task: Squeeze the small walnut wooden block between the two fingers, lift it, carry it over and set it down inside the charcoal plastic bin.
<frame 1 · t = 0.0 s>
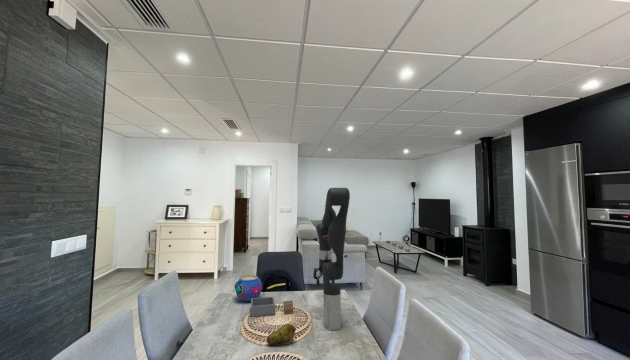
hand: (325, 285, 155), 17 cm above the table, tool pointing down, fingers open, 8 cm apart
walnut block: (288, 312, 159), on the table
ceramic pot: (248, 300, 180), on the table
green pear: (281, 343, 125), on the table
charcoal bin: (262, 311, 161), on the table
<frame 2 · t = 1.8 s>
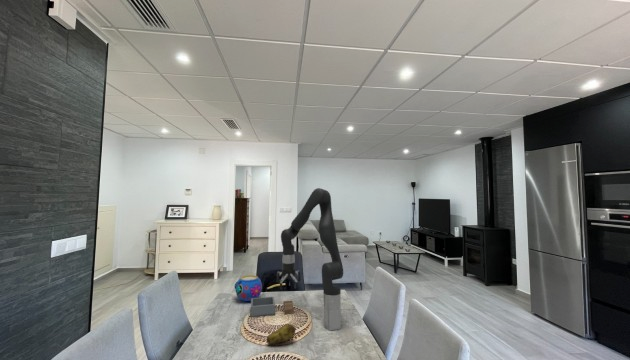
hand: (288, 288, 161), 14 cm above the table, tool pointing down, fingers open, 8 cm apart
nothing on the table moved.
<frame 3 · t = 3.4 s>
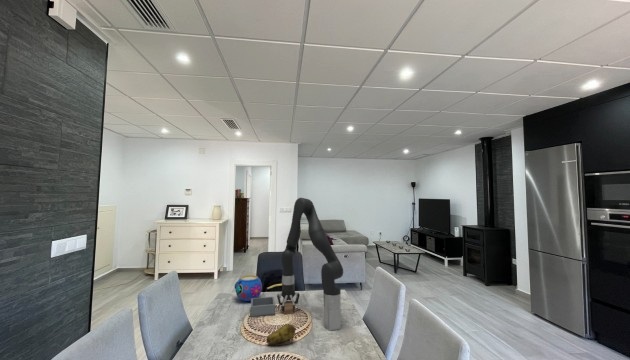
hand: (288, 311, 159), 1 cm above the table, tool pointing down, fingers closed on walnut block, 5 cm apart
walnut block: (288, 312, 159), on the table, touching gripper
everything else where it was.
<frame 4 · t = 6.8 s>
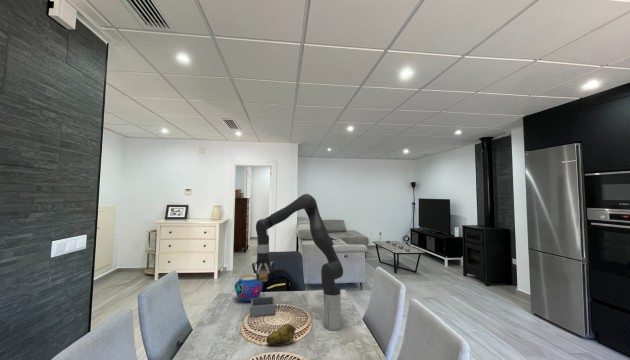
hand: (263, 279, 162), 19 cm above the table, tool pointing down, fingers closed on walnut block, 5 cm apart
walnut block: (263, 280, 162), point 18 cm above the table, touching gripper
everything else where it was.
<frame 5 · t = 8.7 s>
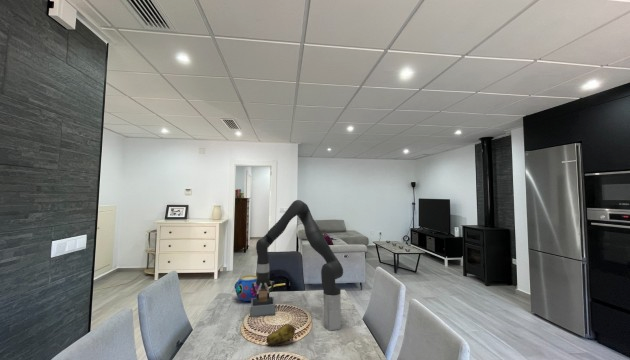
hand: (263, 299, 162), 7 cm above the table, tool pointing down, fingers closed on walnut block, 5 cm apart
walnut block: (262, 300, 162), point 7 cm above the table, touching gripper
everything else where it was.
when the fingers open (4 cm above the table, at t = 10.3 s): walnut block drops 3 cm, resting on charcoal bin.
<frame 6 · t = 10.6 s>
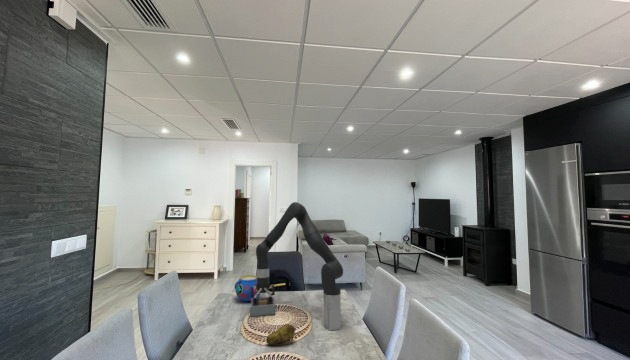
hand: (262, 303, 161), 5 cm above the table, tool pointing down, fingers open, 8 cm apart
walnut block: (262, 309, 161), point 1 cm above the table, touching charcoal bin
everything else where it was.
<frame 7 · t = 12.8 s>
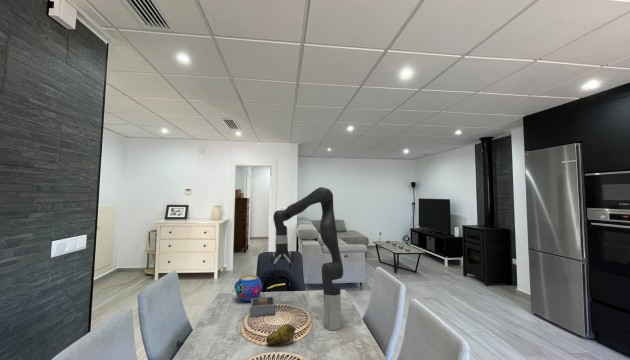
hand: (282, 269, 162), 25 cm above the table, tool pointing down, fingers open, 8 cm apart
nothing on the table moved.
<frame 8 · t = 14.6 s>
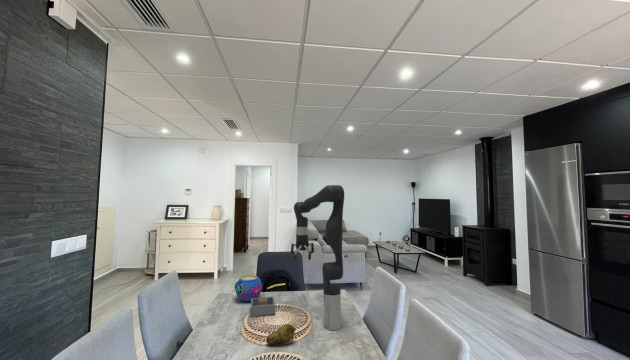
hand: (302, 260, 164), 30 cm above the table, tool pointing down, fingers open, 8 cm apart
nothing on the table moved.
at the end: walnut block inside the target area on the charcoal bin (0.1 cm from its centre), point 1.0 cm above the charcoal bin's base; the gripper is holding nothing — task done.
